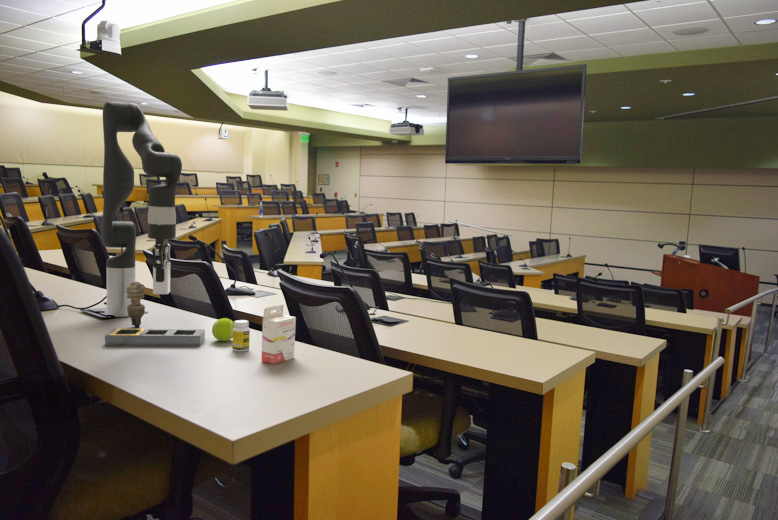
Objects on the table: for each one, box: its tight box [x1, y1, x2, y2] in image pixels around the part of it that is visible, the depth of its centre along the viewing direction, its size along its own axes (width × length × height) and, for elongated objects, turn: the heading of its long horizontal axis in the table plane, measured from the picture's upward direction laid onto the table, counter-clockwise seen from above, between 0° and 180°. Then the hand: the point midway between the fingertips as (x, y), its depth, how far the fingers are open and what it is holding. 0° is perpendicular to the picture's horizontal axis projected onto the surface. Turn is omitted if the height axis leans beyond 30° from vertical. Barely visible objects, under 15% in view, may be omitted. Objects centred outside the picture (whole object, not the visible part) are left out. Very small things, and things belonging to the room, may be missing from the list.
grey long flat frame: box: [104, 328, 206, 347], centre depth 165 cm, size 8×26×3 cm, turn 99°
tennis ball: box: [211, 317, 235, 342], centre depth 170 cm, size 7×7×7 cm
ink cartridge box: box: [261, 304, 297, 365], centre depth 152 cm, size 9×5×15 cm, turn 152°
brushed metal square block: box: [152, 261, 171, 295], centre depth 164 cm, size 4×4×9 cm
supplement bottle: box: [232, 319, 251, 353], centre depth 161 cm, size 5×5×8 cm
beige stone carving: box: [126, 281, 146, 328], centre depth 181 cm, size 6×6×15 cm
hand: (161, 280), depth 164 cm, fingers closed on brushed metal square block, 4 cm apart
